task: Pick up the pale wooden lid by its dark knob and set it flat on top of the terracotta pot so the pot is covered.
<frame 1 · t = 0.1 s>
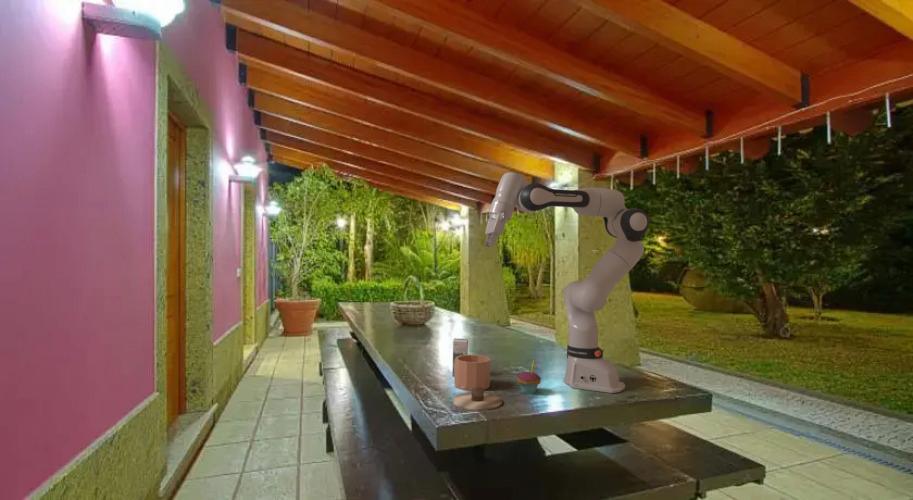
hand: (488, 246, 175), 52 cm above the table, tool tilted 20°, fingers open, 8 cm apart
pot: (472, 385, 171), on the table
syrup box: (459, 375, 186), on the table
lid: (477, 403, 152), on the table
cupcake: (528, 392, 165), on the table
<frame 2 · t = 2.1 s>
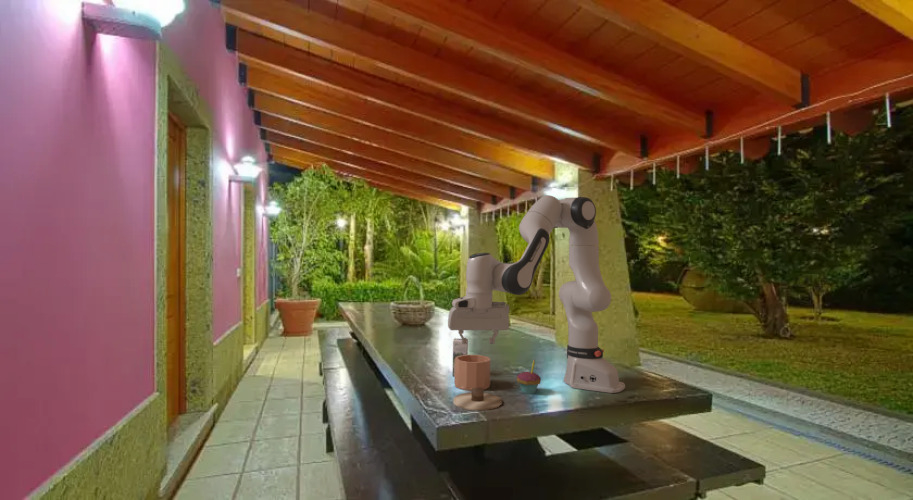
hand: (478, 343, 152), 19 cm above the table, tool pointing down, fingers open, 8 cm apart
nothing on the table moved.
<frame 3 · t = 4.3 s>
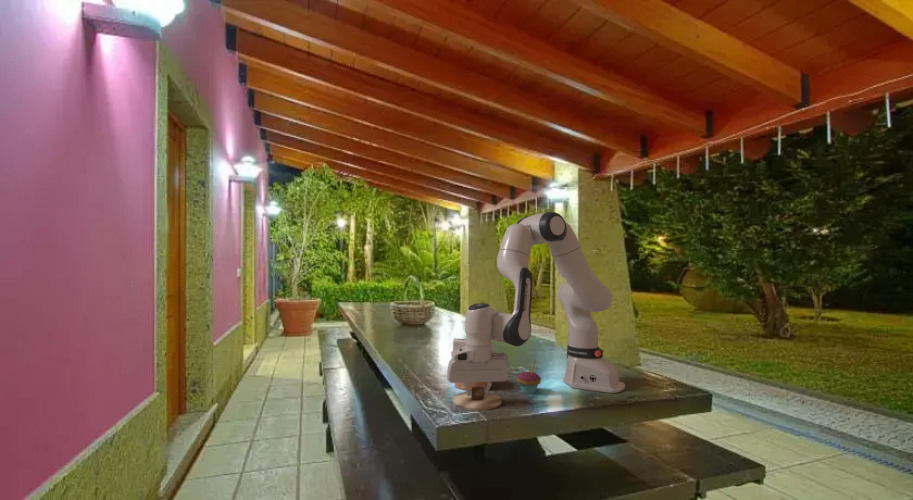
hand: (477, 395, 152), 2 cm above the table, tool pointing down, fingers closed on lid, 4 cm apart
lid: (477, 402, 152), on the table, touching gripper
everything else where it was.
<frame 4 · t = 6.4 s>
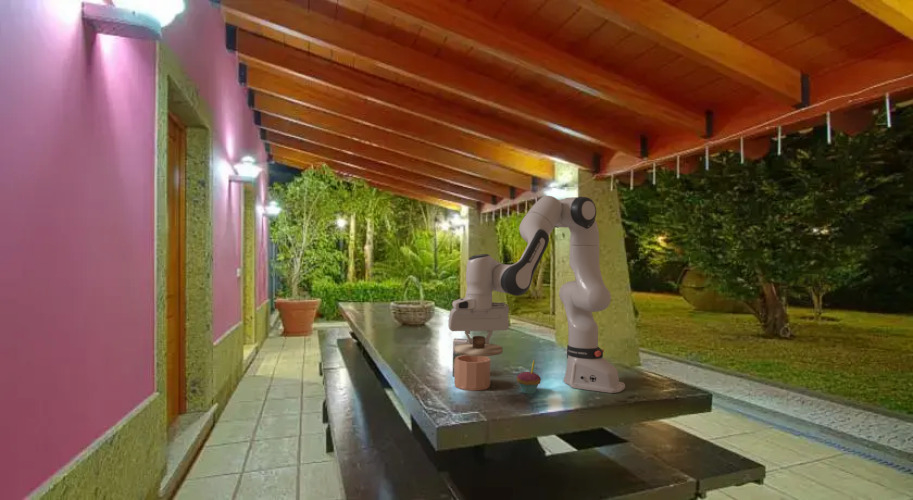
hand: (478, 343, 154), 19 cm above the table, tool pointing down, fingers closed on lid, 4 cm apart
lid: (478, 350, 154), point 16 cm above the table, touching gripper
everything else where it was.
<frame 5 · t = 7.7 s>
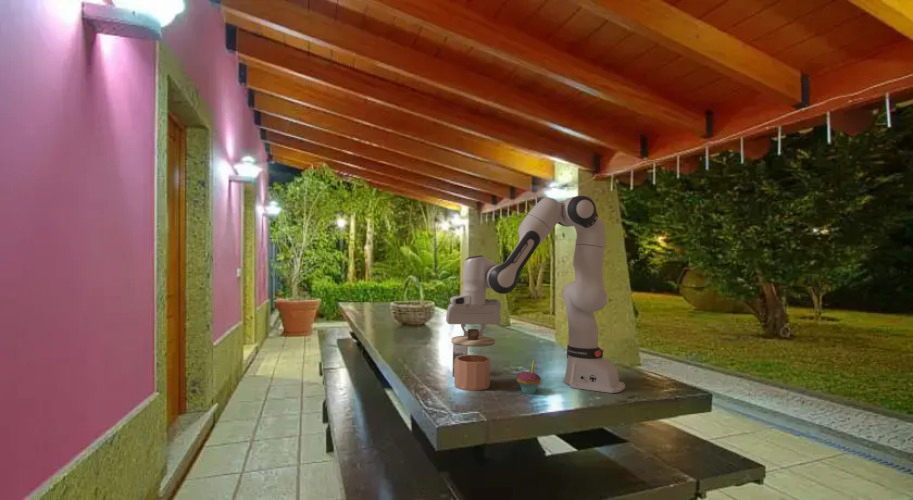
hand: (473, 336, 172), 18 cm above the table, tool pointing down, fingers closed on lid, 4 cm apart
lid: (473, 342, 172), point 16 cm above the table, touching gripper
everything else where it was.
when the fingers open (14 cm above the table, at t = 8.8 s): lid drops 1 cm, resting on pot.
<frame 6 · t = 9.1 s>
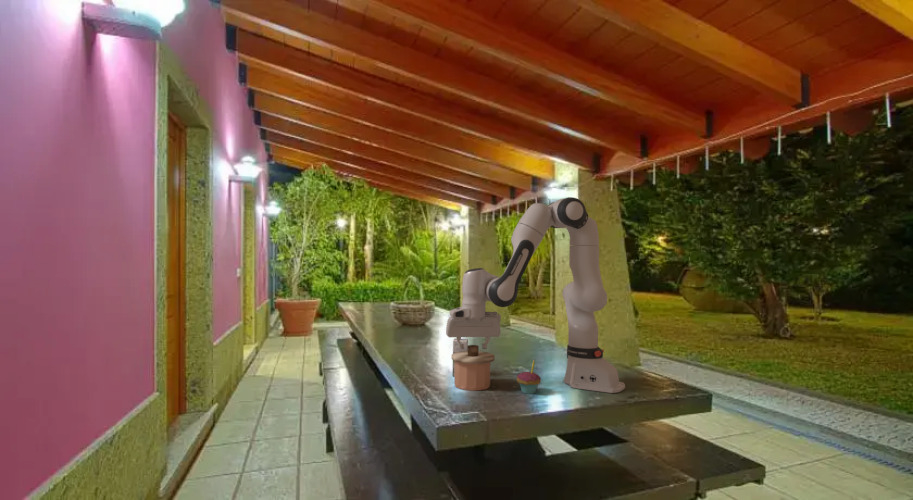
hand: (473, 348, 171), 14 cm above the table, tool pointing down, fingers open, 7 cm apart
lid: (473, 358, 171), point 10 cm above the table, touching pot
everything else where it was.
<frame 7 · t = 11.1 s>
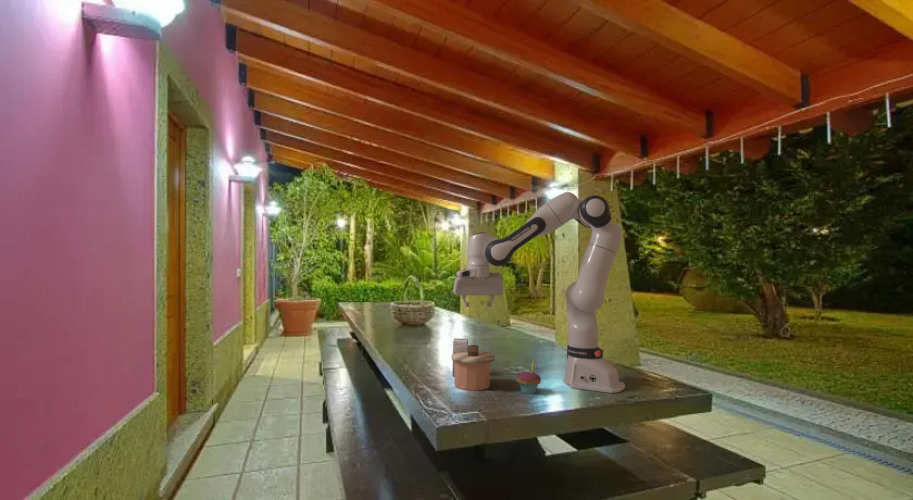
hand: (478, 306, 187), 28 cm above the table, tool pointing down, fingers open, 8 cm apart
nothing on the table moved.
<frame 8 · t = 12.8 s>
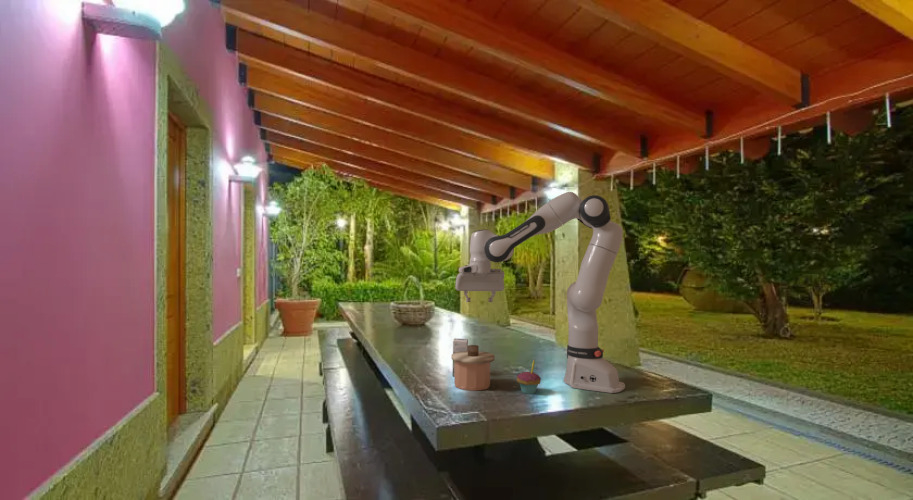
hand: (479, 301, 192), 29 cm above the table, tool pointing down, fingers open, 8 cm apart
nothing on the table moved.
at the end: lid 0.1 cm off-centre on the pot, point 10.0 cm above the pot's base; lid tilted 0°; the gripper is holding nothing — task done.
